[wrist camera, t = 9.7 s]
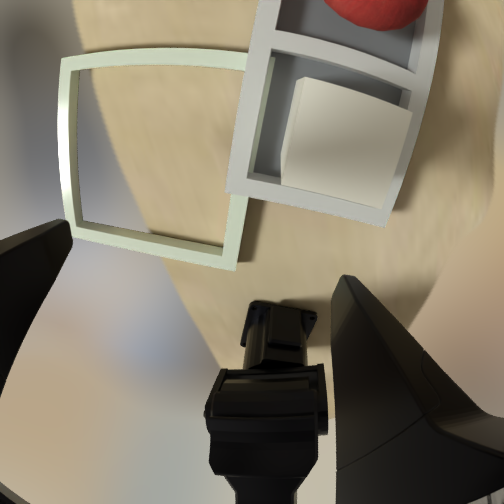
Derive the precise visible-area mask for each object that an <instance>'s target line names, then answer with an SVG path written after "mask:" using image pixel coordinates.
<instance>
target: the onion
mask: <svg viewBox="0 0 504 504" xmlns="http://www.w3.org/2000/svg"><path fill="white" fill-rule="evenodd" d="M428 1H429V0H324V2H325V3H326V4H327V5H328V6H329V7H330V8H332V9H333V10H334V11H335V12H336V13H337V14H338V15H339V16H340V17H342V18H344V19H346V20H348V21H350V22H351V23H353V24H355V25H357V26H360V27H364V28H368V29H372V30H376V31H389V30H396V29H402V28H404V27H405V26H407V25H409V24H410V23H412V22H413V21H415V20H416V19H418V18H419V17H420V16H421V14H422V13H423V11H424V9H425V8H426V6H427V3H428Z"/></svg>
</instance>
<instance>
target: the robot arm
mask: <svg viewBox="0 0 504 504" xmlns="http://www.w3.org/2000/svg"><path fill="white" fill-rule="evenodd" d="M72 245H73V239H72V234H71V228H70V223H69V222H68V221H67V220H63V219H56V220H53V221H51V222H48V223H45V224H42V225H39V226H36V227H34V228H31V229H28V230H26V231H23V232H20V233H18V234H15V235H12V236H10V237H8V238H5V239H3V240H0V397H1V394H2V391H3V388H4V385H5V383H6V379H7V377H8V374H9V372H10V369H11V367H12V365H13V362H14V360H15V358H16V355H17V353H18V351H19V349H20V346H21V344H22V342H23V340H24V338H25V336H26V334H27V332H28V330H29V328H30V325H31V324H32V322H33V319H34V318H35V316H36V314H37V312H38V310H39V308H40V307H41V305H42V303H43V301H44V299H45V298H46V296H47V294H48V292H49V291H50V289H51V287H52V285H53V284H54V282H55V280H56V278H57V276H58V274H59V272H60V270H61V268H62V266H63V264H64V262H65V260H66V258H67V256H68V254H69V252H70V250H71V248H72ZM312 316H313V317H312ZM317 318H318V317H317V313H316V312H313V311H307V310H300V309H294V308H288V307H283V306H277V305H271V304H266V303H260V302H251V303H250V304H249V308H248V312H247V316H246V321H245V325H244V329H243V333H242V337H241V342H240V345H241V346H242V347H246V349H245V356H244V364H243V369H234V370H228V369H221V370H220V372H219V375H218V376H217V379H216V381H215V383H214V385H213V388H212V390H211V393H210V395H209V398H208V400H207V402H206V405H205V411H204V417H205V419H206V426H207V430H208V432H209V433H210V437H211V438H210V454H209V464H210V466H211V468H212V470H213V472H214V474H215V475H221V476H224V477H225V479H226V480H227V481H228V483H229V484H230V486H231V487H232V488H233V490H234V491H235V498H236V504H297V489H298V488H299V487H300V485H301V484H302V482H303V481H304V480H305V478H306V477H307V476H308V474H309V473H310V471H311V469H312V468H313V466H314V465H315V463H316V461H317V460H318V436H320V435H327V434H328V402H327V390H326V381H325V372H324V363H322V364H317V365H312V366H308V360H307V339H308V337H309V335H310V333H311V331H312V329H313V327H314V325H315V323H316V321H317ZM331 355H332V368H333V382H334V398H335V420H336V460H337V461H336V466H337V467H336V469H337V472H336V504H504V418H501V417H496V416H493V415H490V414H488V413H486V412H484V411H483V410H482V409H480V408H479V407H478V406H477V405H476V404H475V403H474V402H473V401H472V400H471V399H470V397H469V396H468V395H467V394H466V393H465V392H464V391H463V390H462V389H461V388H460V387H459V386H458V385H457V384H456V383H455V382H454V381H453V380H452V379H451V378H450V377H449V376H448V375H447V374H446V373H445V372H444V371H443V370H442V369H441V368H440V367H439V365H438V364H437V363H436V362H435V361H434V360H433V359H432V358H431V356H430V355H429V354H428V353H427V352H426V351H425V350H424V351H423V347H422V346H421V345H420V344H419V343H418V342H417V341H416V340H415V339H414V337H413V336H412V335H411V334H410V333H409V332H408V331H407V330H406V329H405V328H404V327H403V326H402V324H401V323H400V322H399V321H398V320H397V319H396V318H395V317H394V316H393V315H392V314H391V313H390V312H389V311H388V310H387V309H386V307H385V306H384V305H383V304H382V303H381V302H380V301H379V300H378V299H377V298H376V297H375V296H374V295H373V294H372V293H371V292H370V291H369V290H368V289H367V288H366V287H365V286H364V285H363V284H362V283H361V282H360V281H359V280H358V279H357V278H356V277H355V276H350V275H345V274H344V275H342V276H341V277H340V279H339V282H338V284H337V286H336V288H335V290H334V293H333V295H332V299H331ZM0 504H30V503H28V502H27V501H25V500H24V499H22V498H21V497H19V496H18V495H17V494H15V493H14V492H13V491H11V490H10V489H9V488H7V487H6V486H5V485H3V484H2V483H1V482H0Z"/></svg>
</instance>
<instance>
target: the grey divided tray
mask: <svg viewBox="0 0 504 504" xmlns="http://www.w3.org/2000/svg"><path fill="white" fill-rule="evenodd" d="M443 8H444V0H429V1H428V3H427V6H426V8H425V9H424V11H423V13H422V14H421V16H420V17H419V18H418V19H416V20H415V21H413V22H412V23H410V24H409V25H407V26H405V27H404V28H402V29H396V30H389V31H376V30H372V29H368V28H364V27H360V26H357V25H355V24H353V23H351V22H350V21H348V20H346V19H344V18H342V17H340V16H339V15H338V14H337V13H336V12H335V11H334V10H333V9H332V8H330V7H329V6H328V5H327V4H326V3H325V2H324V0H259V3H258V8H257V12H256V17H255V22H254V26H253V31H252V36H251V41H250V46H249V51H248V56H247V61H246V67H245V72H244V77H243V83H242V88H241V94H240V99H239V105H238V111H237V117H236V123H235V129H234V135H233V141H232V147H231V153H230V160H229V166H228V173H227V180H226V187H225V193H229V194H235V195H240V196H245V197H251V198H256V199H261V200H266V201H271V202H276V203H281V204H285V205H290V206H295V207H299V208H304V209H309V210H313V211H318V212H322V213H326V214H331V215H335V216H339V217H343V218H347V219H351V220H355V221H360V222H364V223H367V224H371V225H375V226H379V227H383V228H385V226H386V224H387V221H388V219H389V216H390V214H391V211H392V209H393V206H394V204H395V201H396V198H397V196H398V193H399V190H400V188H401V185H402V182H403V179H404V177H405V174H406V171H407V168H408V165H409V162H410V159H411V156H412V153H413V150H414V146H415V143H416V140H417V137H418V133H419V130H420V126H421V123H422V119H423V115H424V112H425V108H426V104H427V100H428V96H429V92H430V87H431V83H432V78H433V73H434V68H435V63H436V58H437V52H438V46H439V40H440V33H441V26H442V18H443ZM270 57H275V63H274V68H273V73H272V78H271V83H270V88H269V93H268V98H267V103H266V108H265V113H264V119H263V124H262V129H261V134H260V139H259V145H258V150H257V155H256V160H255V166H254V171H253V173H249V167H250V161H251V156H252V150H253V145H254V140H255V134H256V129H257V124H258V118H259V113H260V108H261V103H262V97H263V92H264V87H265V82H266V77H267V72H268V67H269V62H270ZM303 77H308V78H313V79H317V80H320V81H324V82H328V83H331V84H335V85H338V86H342V87H345V88H348V89H351V90H355V91H358V92H361V93H364V94H367V95H369V96H372V97H375V98H378V99H380V100H383V101H386V102H388V103H391V104H393V105H396V106H398V107H401V108H403V109H406V110H408V111H410V112H413V114H412V117H411V121H410V125H409V128H408V132H407V135H406V138H405V142H404V145H403V148H402V151H401V155H400V158H399V161H398V164H397V167H396V170H395V173H394V176H393V179H392V181H391V184H390V187H389V190H388V193H387V195H386V198H385V201H384V203H383V206H382V209H378V208H374V207H370V206H367V205H363V204H359V203H356V202H352V201H348V200H344V199H340V198H336V197H332V196H328V195H324V194H320V193H315V192H311V191H307V190H302V189H298V188H293V187H289V186H284V185H281V150H282V145H283V141H284V136H285V131H286V127H287V122H288V117H289V113H290V108H291V103H292V99H293V94H294V89H295V85H296V80H299V79H301V78H303Z"/></svg>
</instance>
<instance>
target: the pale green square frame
mask: <svg viewBox="0 0 504 504" xmlns="http://www.w3.org/2000/svg"><path fill="white" fill-rule="evenodd" d="M247 56H248V53H242V52H234V51H224V50H212V49H196V48H141V49H125V50H114V51H105V52H97V53H90V54H83V55H77V56H71V57H66V58H62V59H61V69H60V80H59V97H58V149H59V165H60V178H61V188H62V196H63V204H64V211H65V217H66V220H67V221H68V222H69V223H70V228H71V234H72V237H75V238H80V239H84V240H89V241H93V242H98V243H102V244H106V245H111V246H115V247H120V248H124V249H129V250H133V251H138V252H142V253H147V254H152V255H156V256H161V257H166V258H171V259H175V260H180V261H185V262H190V263H195V264H200V265H205V266H210V267H215V268H220V269H225V270H230V271H235V270H236V266H237V261H238V255H239V250H240V244H241V239H242V233H243V228H244V222H245V217H246V211H247V206H248V200H249V197H245V196H240V195H235V194H231V198H230V205H229V212H228V218H227V225H226V232H225V239H224V246H223V248H221V247H216V246H211V245H206V244H201V243H196V242H191V241H185V240H180V239H175V238H170V237H165V236H160V235H155V234H150V233H144V232H139V231H134V230H129V229H124V228H119V227H114V226H109V225H104V224H98V223H93V222H88V221H83V216H82V209H81V198H80V188H79V175H78V157H77V106H78V88H79V76H80V70H85V69H94V68H104V67H117V66H139V65H172V66H194V67H208V68H219V69H228V70H236V71H244V72H245V67H246V61H247ZM274 63H275V57H270V62H269V67H268V72H267V77H266V82H265V87H264V92H263V97H262V103H261V108H260V113H259V118H258V124H257V129H256V134H255V140H254V145H253V150H252V156H251V161H250V167H249V173H253V171H254V166H255V160H256V155H257V150H258V145H259V139H260V134H261V129H262V124H263V119H264V113H265V108H266V103H267V98H268V93H269V88H270V83H271V78H272V73H273V68H274Z"/></svg>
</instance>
